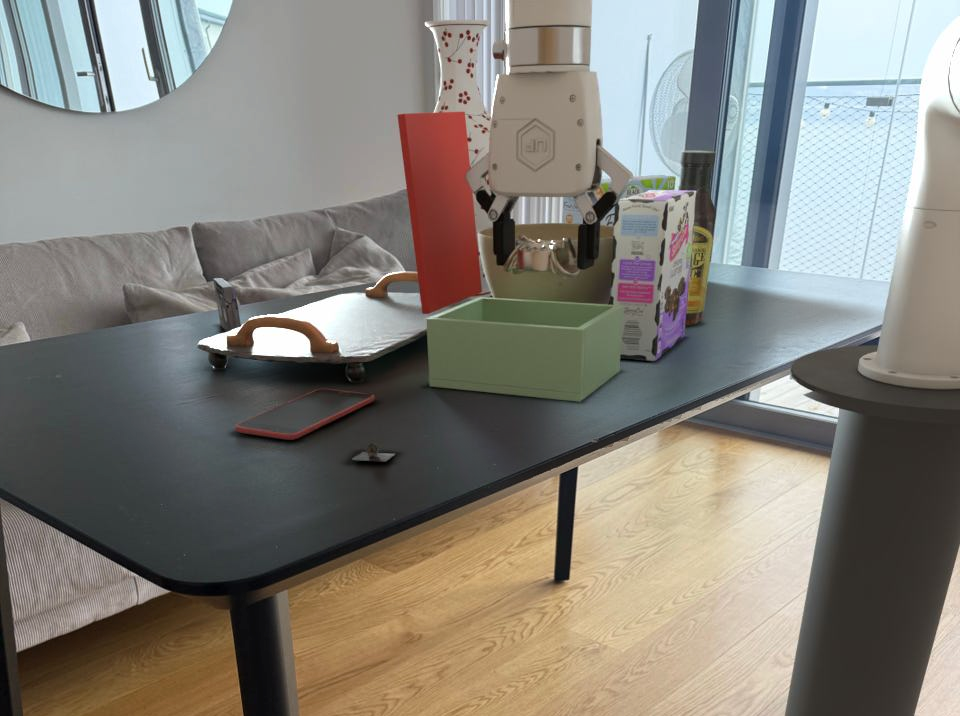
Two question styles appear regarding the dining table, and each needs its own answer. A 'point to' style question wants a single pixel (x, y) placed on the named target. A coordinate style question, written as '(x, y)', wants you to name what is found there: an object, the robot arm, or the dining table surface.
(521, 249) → the ornament
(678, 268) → the candy box
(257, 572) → the dining table surface
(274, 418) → the smartphone
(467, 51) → the vase
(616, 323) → the open storage box
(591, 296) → the flower pot
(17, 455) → the dining table surface
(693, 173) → the sauce bottle
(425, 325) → the serving tray
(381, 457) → the square plate with knob
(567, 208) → the snack box
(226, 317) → the mini dv tape
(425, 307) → the lid
